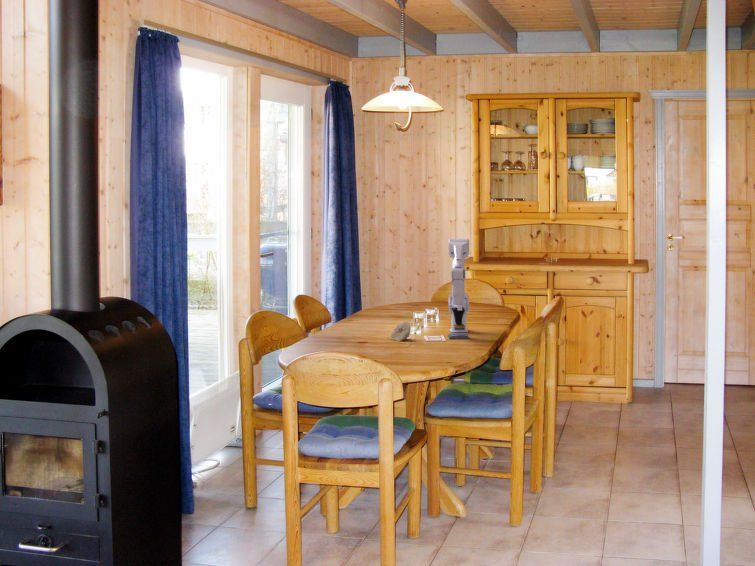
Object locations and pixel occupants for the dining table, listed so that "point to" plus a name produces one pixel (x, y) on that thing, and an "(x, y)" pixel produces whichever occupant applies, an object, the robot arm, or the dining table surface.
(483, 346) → the dining table surface
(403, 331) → the stone
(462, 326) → the stamp
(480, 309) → the dining table surface
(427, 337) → the sheet
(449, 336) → the ink pad
